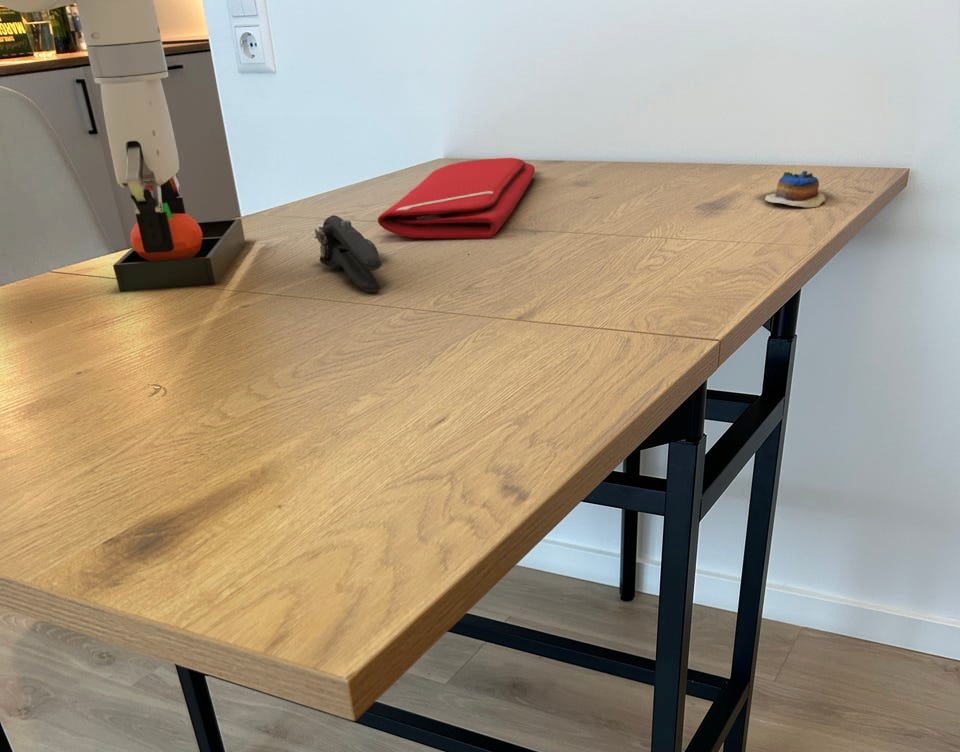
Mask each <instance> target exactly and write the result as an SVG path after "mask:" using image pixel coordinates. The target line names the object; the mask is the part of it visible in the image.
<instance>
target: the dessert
mask: <svg viewBox="0 0 960 752" xmlns="http://www.w3.org/2000/svg"><path fill="white" fill-rule="evenodd" d="M819 187H820V181H819V178H817V177H816V176H813V172H810V173H808V171H807V170H803V171H802V172H801V173H800V174H797V173H794V174H793V172H790V171H785V172H783V174H782V176H781V177H780V178H779V180H778V183H777V185H776V193H771V194H767V195H766V196H765V198H764V200H765V201H766V202H769V203H775V204H784V205H787V206H791V207H792V206H793V207H801V208H817V207H819V206H821V204H822V203H823V202H825V201H826V197H825V194H823V193H820V192H819Z"/></svg>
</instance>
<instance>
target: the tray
mask: <svg viewBox="0 0 960 752" xmlns="http://www.w3.org/2000/svg"><path fill="white" fill-rule="evenodd" d="M196 222H197V224H198V225H199V226H200V227H201V231H202V244H201V248H200V251H199V252H198V253H197V254H196V255H195V256H194V257H193V258H187V259H173V260H160V261H149V260H147V259H145V258H143V257H141V256H140V255H139V254H138V253H137V252H136V251H135V250H134V248H133V247H131V248H130V249H129V250H128V251H127V252H125V254H124V255H122V256H121V257H120V258H119V259H118V260H117V261H116V262H115V263H114V264H113V265H112V267H113V271H114V274H115V279H116V282H117V286H118V290H119V293H124V292H138V291H150V290H151V291H152V290H163V289H164V290H165V289H176V288H177V289H178V288H190V287H203V286H216V285H217V283H218V282H219V280H220V279H221V278H222V276H223V275H224V273H225V272H226V270H227V269H228V268H229V266H230V265H231V264H232V262H233V261H234V259H236V257H237V256H238V254H239V252H240V251H241V249H242V248H243V247H244V245H245V244H246V239H245V233H244V228H243V221H242V219H241V218H231V219H218V220H217V219H216V220H204V221H196Z"/></svg>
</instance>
